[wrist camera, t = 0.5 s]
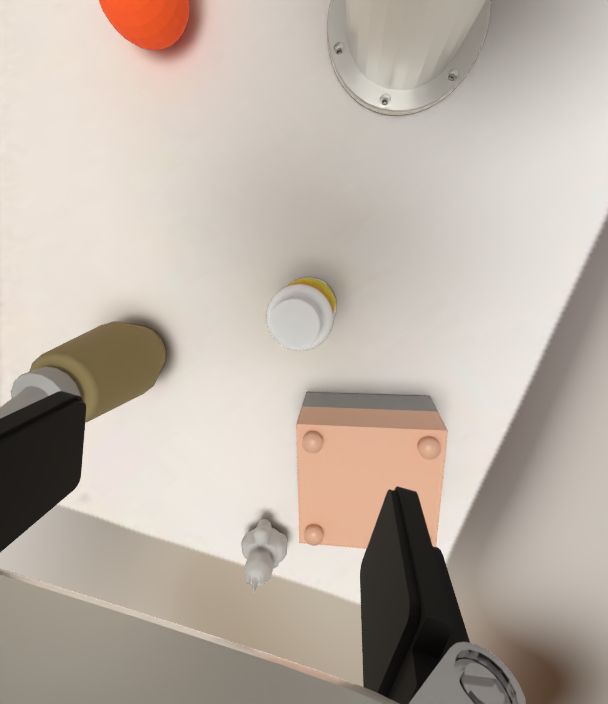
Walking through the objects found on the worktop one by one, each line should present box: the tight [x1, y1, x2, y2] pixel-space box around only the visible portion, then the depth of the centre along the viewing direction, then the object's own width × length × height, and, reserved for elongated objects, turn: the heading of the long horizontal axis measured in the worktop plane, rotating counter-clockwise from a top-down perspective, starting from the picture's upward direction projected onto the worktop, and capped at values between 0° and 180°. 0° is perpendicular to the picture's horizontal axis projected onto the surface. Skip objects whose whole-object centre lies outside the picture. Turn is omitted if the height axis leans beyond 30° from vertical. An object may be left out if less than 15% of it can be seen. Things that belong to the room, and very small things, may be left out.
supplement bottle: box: [266, 277, 337, 351], centre depth 33 cm, size 6×6×10 cm
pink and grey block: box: [296, 392, 448, 549], centre depth 37 cm, size 13×13×8 cm
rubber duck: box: [241, 519, 287, 593], centre depth 42 cm, size 5×7×8 cm
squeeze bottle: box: [0, 322, 166, 422], centre depth 33 cm, size 8×8×18 cm
